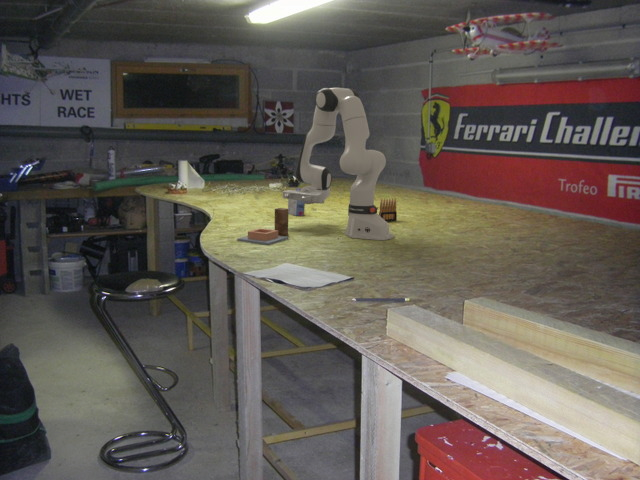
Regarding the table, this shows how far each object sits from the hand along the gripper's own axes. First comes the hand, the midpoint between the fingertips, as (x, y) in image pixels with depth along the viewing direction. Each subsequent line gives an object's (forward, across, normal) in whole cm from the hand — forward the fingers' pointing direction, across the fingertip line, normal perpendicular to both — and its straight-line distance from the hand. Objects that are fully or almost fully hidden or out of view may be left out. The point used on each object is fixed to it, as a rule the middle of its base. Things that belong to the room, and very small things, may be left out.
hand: (294, 197), depth 294 cm
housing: (+27, +1, +16) cm, 31 cm away
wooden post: (+12, +1, +16) cm, 20 cm away
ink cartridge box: (-44, -24, +17) cm, 53 cm away
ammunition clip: (-54, +26, +16) cm, 62 cm away
